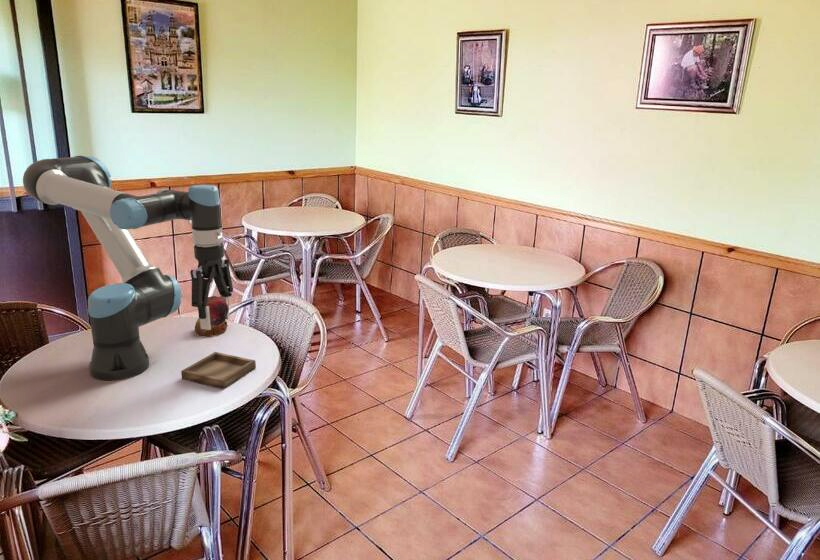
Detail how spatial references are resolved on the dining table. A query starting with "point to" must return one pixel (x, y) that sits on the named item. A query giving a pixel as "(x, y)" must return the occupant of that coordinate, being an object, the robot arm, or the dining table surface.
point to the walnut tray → (218, 370)
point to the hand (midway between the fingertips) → (215, 323)
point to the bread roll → (213, 331)
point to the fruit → (217, 310)
